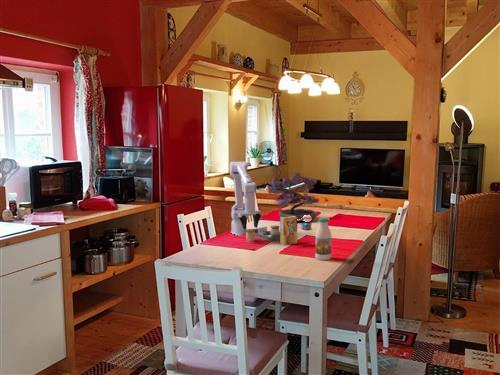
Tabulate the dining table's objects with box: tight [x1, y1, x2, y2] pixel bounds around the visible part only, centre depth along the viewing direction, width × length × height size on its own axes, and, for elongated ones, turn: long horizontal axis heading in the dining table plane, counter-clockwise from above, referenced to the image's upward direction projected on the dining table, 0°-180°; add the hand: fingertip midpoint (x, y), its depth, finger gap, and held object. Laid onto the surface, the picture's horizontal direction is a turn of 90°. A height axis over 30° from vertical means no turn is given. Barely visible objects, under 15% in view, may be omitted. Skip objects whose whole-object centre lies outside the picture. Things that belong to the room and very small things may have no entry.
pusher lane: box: [254, 227, 280, 242], centre depth 282 cm, size 22×12×4 cm, turn 36°
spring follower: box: [257, 226, 268, 235], centre depth 288 cm, size 4×6×4 cm, turn 126°
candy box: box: [279, 216, 298, 246], centre depth 265 cm, size 9×4×15 cm, turn 116°
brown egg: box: [270, 225, 280, 237], centre depth 277 cm, size 5×5×7 cm
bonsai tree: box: [267, 172, 320, 221], centre depth 335 cm, size 35×27×32 cm
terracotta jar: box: [245, 228, 256, 243], centre depth 273 cm, size 5×5×7 cm
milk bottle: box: [314, 217, 332, 261], centre depth 236 cm, size 8×8×20 cm
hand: (250, 228), depth 272 cm, fingers open, 7 cm apart
